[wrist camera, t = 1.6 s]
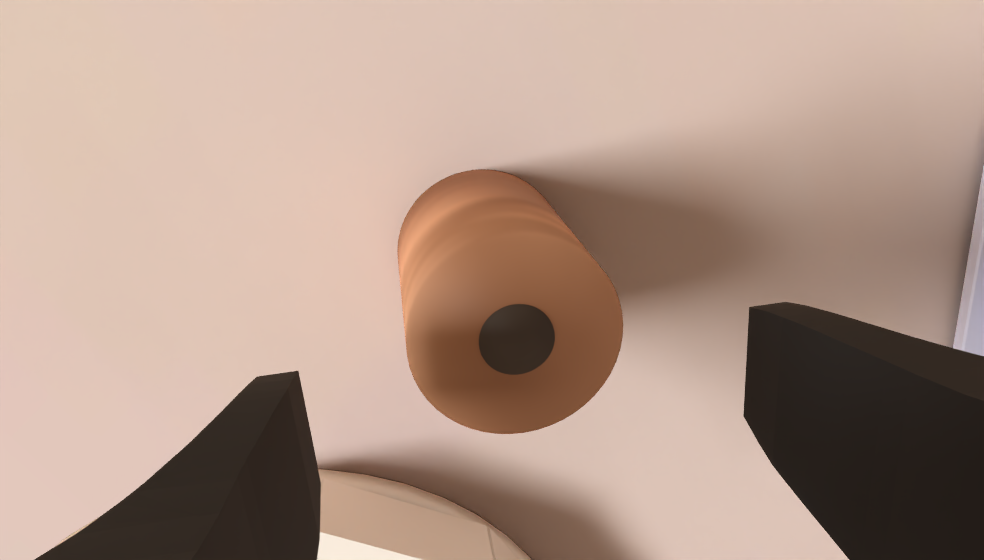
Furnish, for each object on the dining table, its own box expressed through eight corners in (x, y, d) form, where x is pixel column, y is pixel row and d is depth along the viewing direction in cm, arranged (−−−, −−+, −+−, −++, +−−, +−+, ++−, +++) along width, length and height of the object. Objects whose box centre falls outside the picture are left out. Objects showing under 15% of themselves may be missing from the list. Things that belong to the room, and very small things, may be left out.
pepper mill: (556, 160, 18) (622, 222, 13) (564, 313, 19) (624, 418, 15) (387, 179, 17) (392, 250, 13) (408, 335, 19) (420, 449, 14)
